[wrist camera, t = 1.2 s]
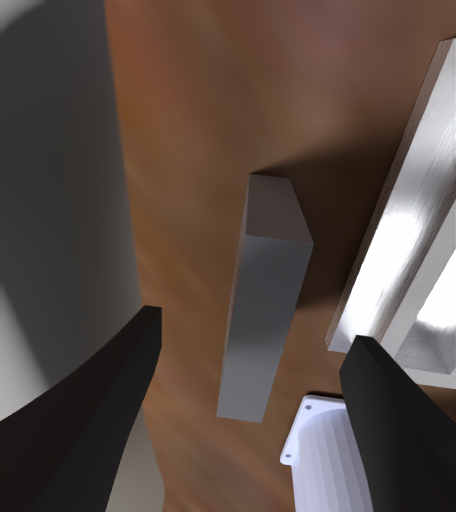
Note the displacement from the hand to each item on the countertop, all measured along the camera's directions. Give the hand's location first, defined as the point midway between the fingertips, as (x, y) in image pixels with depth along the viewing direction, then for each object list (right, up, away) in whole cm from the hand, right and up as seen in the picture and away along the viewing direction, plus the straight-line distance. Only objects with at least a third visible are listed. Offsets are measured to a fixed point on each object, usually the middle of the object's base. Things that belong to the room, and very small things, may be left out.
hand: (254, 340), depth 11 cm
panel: (+1, +3, +6) cm, 7 cm away
